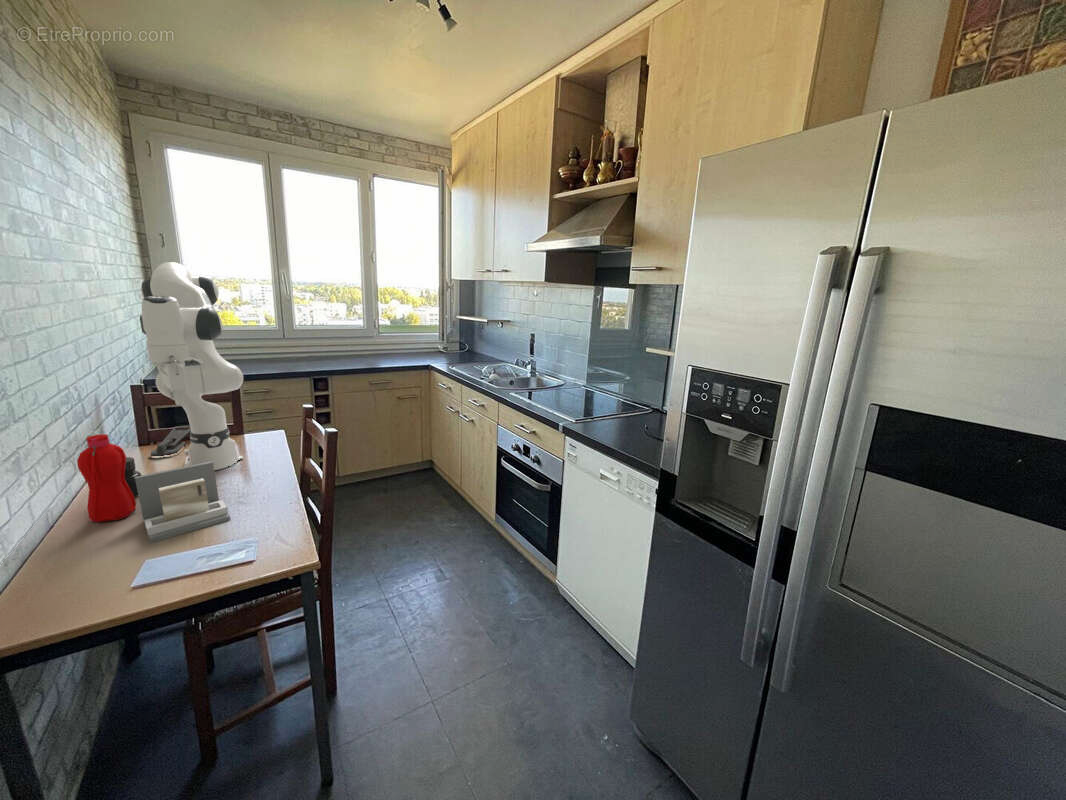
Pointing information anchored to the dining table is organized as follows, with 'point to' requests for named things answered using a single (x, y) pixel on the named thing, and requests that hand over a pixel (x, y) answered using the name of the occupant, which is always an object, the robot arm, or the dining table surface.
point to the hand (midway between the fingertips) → (177, 401)
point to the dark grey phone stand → (171, 442)
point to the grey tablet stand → (161, 529)
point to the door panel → (184, 499)
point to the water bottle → (105, 480)
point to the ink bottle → (131, 475)
